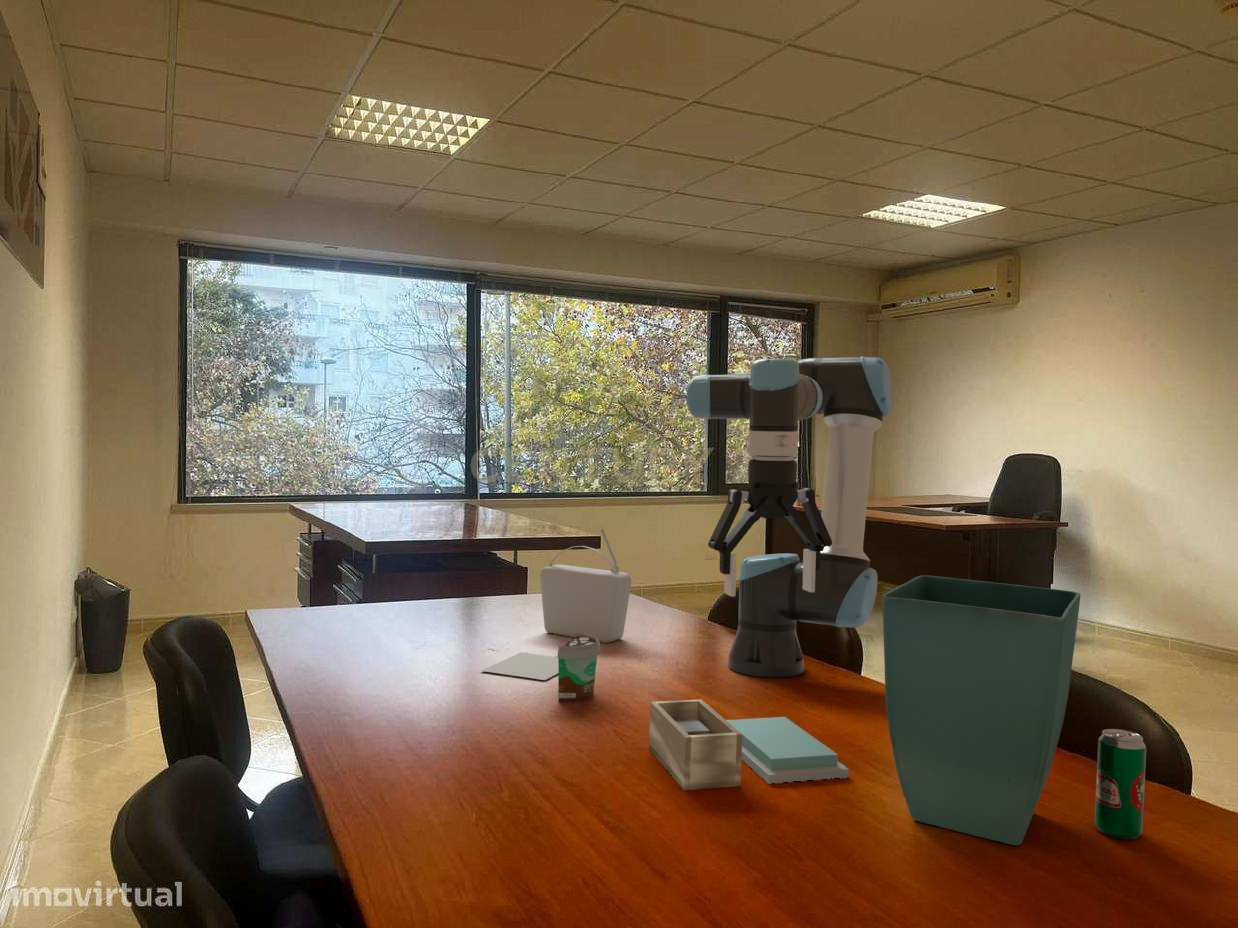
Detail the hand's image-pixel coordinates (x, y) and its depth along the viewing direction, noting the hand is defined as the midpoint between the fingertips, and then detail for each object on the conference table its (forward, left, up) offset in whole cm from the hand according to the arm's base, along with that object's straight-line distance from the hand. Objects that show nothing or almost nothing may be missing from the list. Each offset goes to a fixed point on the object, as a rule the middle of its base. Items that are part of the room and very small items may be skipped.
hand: (769, 592), depth 142 cm
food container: (+24, -24, -23) cm, 41 cm away
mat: (+2, +10, -22) cm, 25 cm away
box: (+16, +12, -22) cm, 30 cm away
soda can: (-28, +42, -22) cm, 55 cm away
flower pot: (-13, +35, -22) cm, 43 cm away
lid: (+2, +10, -21) cm, 23 cm away
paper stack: (+31, -51, -23) cm, 64 cm away
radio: (+13, -71, -23) cm, 76 cm away
